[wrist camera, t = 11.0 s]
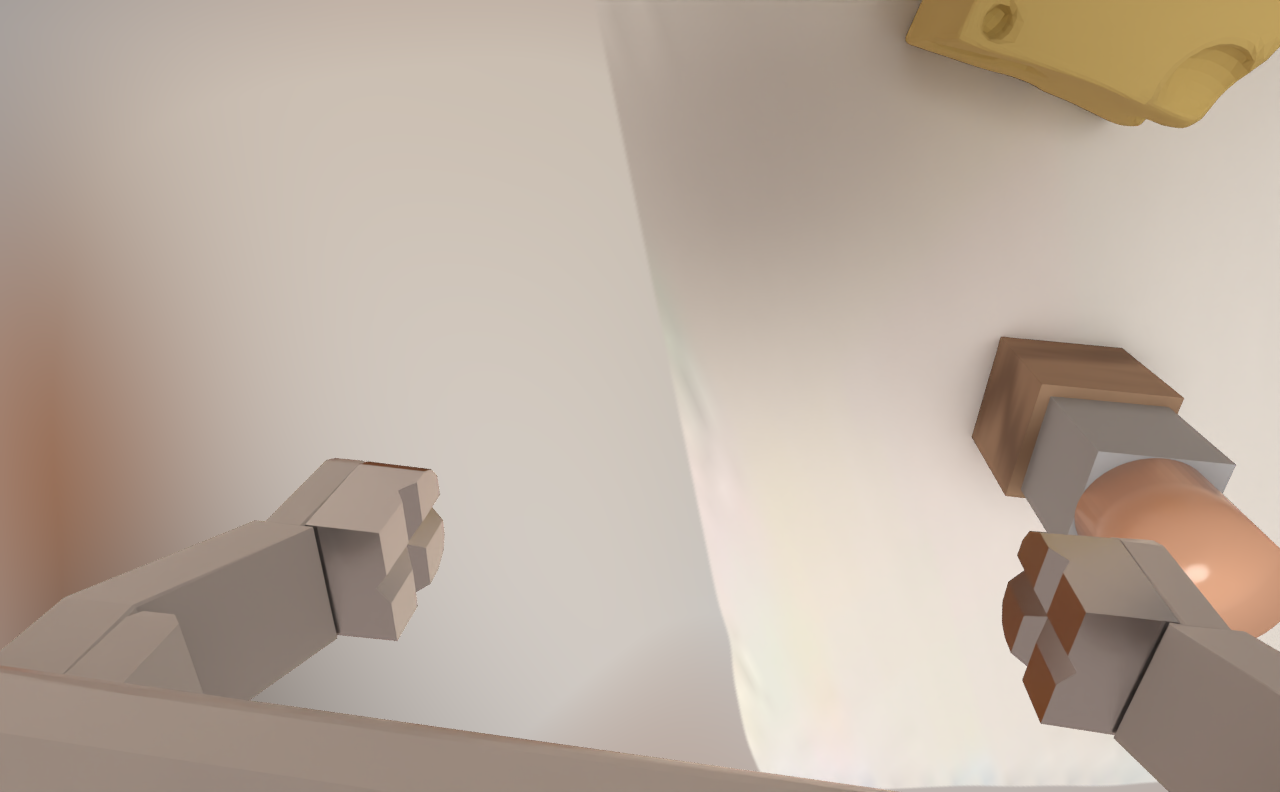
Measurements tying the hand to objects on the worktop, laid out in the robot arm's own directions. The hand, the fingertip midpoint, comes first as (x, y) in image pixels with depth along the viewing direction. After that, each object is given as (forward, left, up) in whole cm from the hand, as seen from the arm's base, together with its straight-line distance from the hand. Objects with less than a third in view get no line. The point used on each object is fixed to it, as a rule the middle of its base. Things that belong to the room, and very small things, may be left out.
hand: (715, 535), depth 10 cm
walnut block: (+10, +17, -29) cm, 35 cm away
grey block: (+10, +17, -23) cm, 31 cm away
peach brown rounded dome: (+10, +17, -18) cm, 27 cm away
